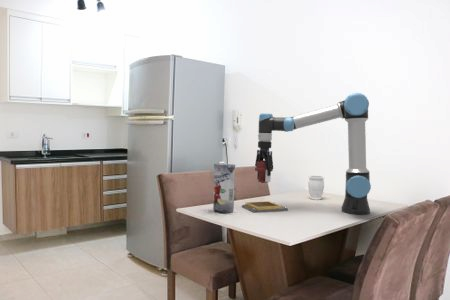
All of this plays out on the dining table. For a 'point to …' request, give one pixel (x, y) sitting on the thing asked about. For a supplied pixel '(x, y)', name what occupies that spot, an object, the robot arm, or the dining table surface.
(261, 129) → the robot arm
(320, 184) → the jar
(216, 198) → the juice carton
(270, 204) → the deck plate
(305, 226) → the dining table surface
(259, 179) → the mechanical component
